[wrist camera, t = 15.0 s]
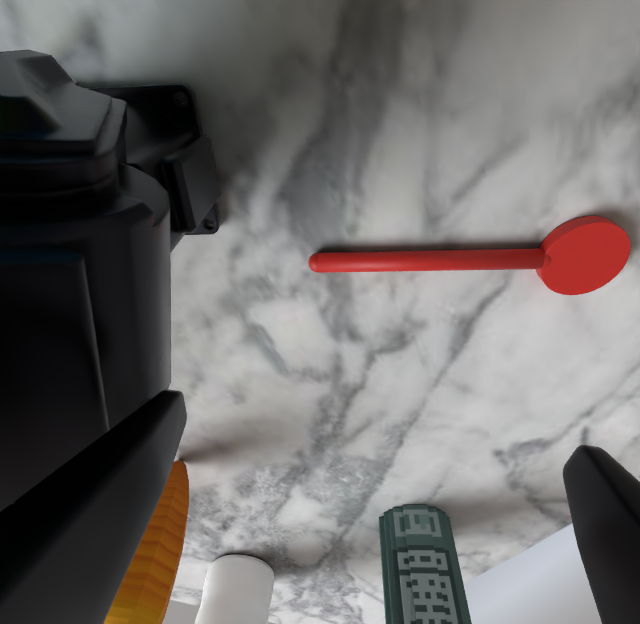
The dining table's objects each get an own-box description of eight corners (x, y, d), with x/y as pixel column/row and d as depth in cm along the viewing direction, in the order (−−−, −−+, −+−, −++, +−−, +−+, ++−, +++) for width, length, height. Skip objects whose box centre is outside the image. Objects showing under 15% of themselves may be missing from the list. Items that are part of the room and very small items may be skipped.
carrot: (195, 485, 34) (113, 739, 22) (140, 463, 33) (19, 722, 21) (222, 458, 32) (146, 727, 20) (163, 432, 30) (42, 707, 18)
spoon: (311, 290, 22) (310, 300, 21) (306, 222, 20) (305, 230, 19) (604, 286, 21) (614, 297, 20) (635, 214, 19) (648, 222, 18)
